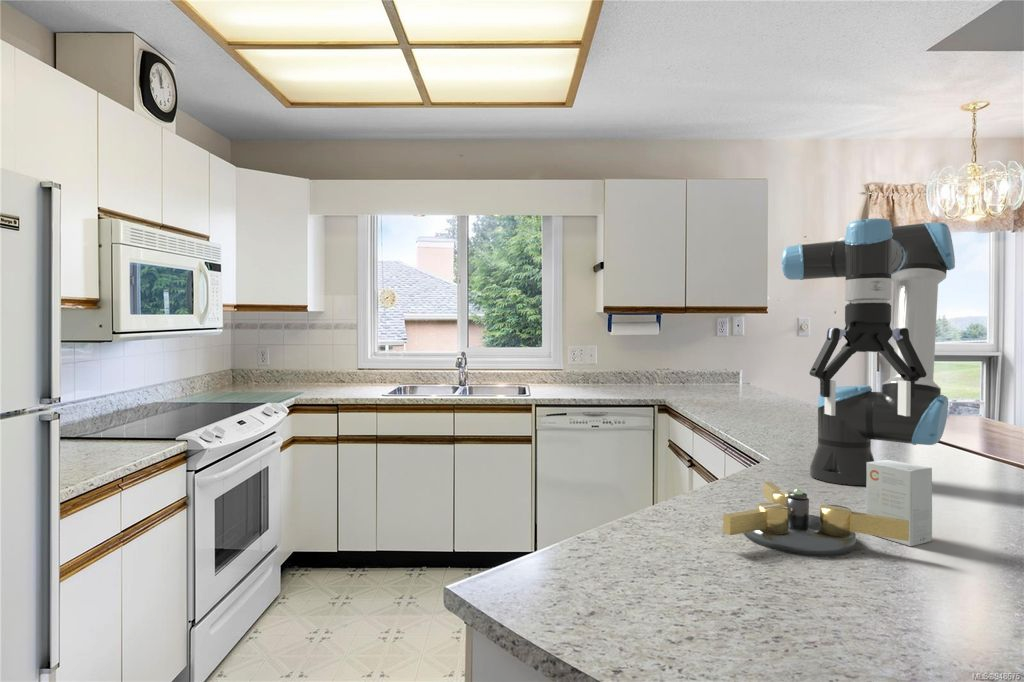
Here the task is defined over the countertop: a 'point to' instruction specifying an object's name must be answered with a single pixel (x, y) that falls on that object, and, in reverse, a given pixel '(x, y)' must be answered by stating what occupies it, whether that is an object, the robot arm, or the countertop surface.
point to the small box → (901, 496)
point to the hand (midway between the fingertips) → (866, 415)
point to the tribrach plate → (804, 533)
